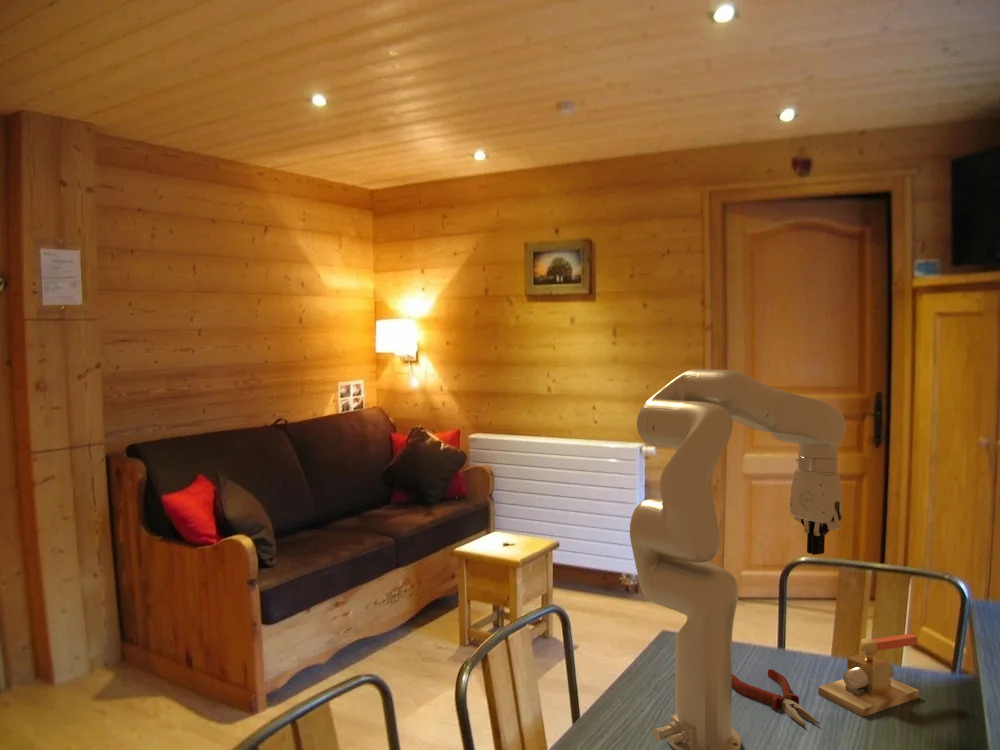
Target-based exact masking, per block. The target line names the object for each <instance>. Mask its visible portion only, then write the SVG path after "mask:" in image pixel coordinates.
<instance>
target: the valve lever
mask: <svg viewBox="0 0 1000 750" xmlns="http://www.w3.org/2000/svg"><path fill="white" fill-rule="evenodd" d="M915 645H918V636H916V635H915V634H912V633H907V634H906V633H905V634H899V635H898V634H897V635H892V636H885V637H879V638H873V639H871V638H861V640H860V651H862V653H865V652H866V653H871V654H873V655H874V654H876V653H877V652H879V651H884V650H885V651H886V650H891V649H895V648H896V649H898V648H904V647H905V648H906V647H908V646H909V647H910V646H915Z"/></svg>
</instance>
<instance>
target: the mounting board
mask: <svg viewBox="0 0 1000 750" xmlns="http://www.w3.org/2000/svg"><path fill="white" fill-rule="evenodd" d="M890 680H891V687H890V692H887V693H884V694H881V695H878V696H875V697H871V696H869V695H866V694H865V695H863V696H860V697H858V696H856V695H854V694H852V693H850V692H848V691H846V684H845V682H844V680H843V678H842V679H839V680H836V681H832V682H829V683H825V684H822V685H820V686H818V689H817V690H818V695H819V696H822V697H823V698H826V699H827V700H829V701H831V702H833V703H835V704H837V705H839V706H841V707H843V708H845V709H846V710H848V711H851V712H852V713H854V714H856V715H858V716H861V717H862V718H863V717H867V716H870V715H872V714H876V713H878V712H881V711H884V710H886V709H890V708H893V707H895V706H899V705H901V704H905V703H908V702H910V701H914V700H917V699H919V698H920V697H919V695H920V690H919V689H917V688H914V687H912V686H911V685H908V684H906V683H904V682H901V681H899V680H896V679H894V678H893V677H892V678H890Z"/></svg>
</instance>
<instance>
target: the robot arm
mask: <svg viewBox="0 0 1000 750" xmlns="http://www.w3.org/2000/svg"><path fill="white" fill-rule="evenodd" d="M733 422H735V423H737V424H740V425H742V426H745V427H747V428H750V429H753V430H756V431H759V432H764V433H769V434H771V436H772V437H773V438H775V439H776V440H777V441H780V442H782V443H791V444H798V450H797V451H798V453H797V455H798V456H797V457H796V459H795V461H796V463H798V464H797V466H798V467H797V469H795V470H794V473H793V477H792V481H791V487H790V488H791V489H790V497H789V498H790V499H789V513H790V514H791V515H792V516H793V517H794V520H795V521H797V522H799V523H800V524H801V525H802V526H803V528H804V533H805V534H806V535H807V537H806V540H807V541H806V552H807V554H811V555H813V556H817V555H822V554H824V553H825V536H827V535H828V534H829V532H830V531H837V530H840V529H841V528H840V527H841V526H840V522H841V521H842V519H843V511H844V510H843V503H844V502H843V489H842V481H841V477H840V474H839V473H838V463H839V462H838V461H839V459H838V457H839V455H838V453H839V444H840V443H841V442H842V441H843V439H844V438H845V435H846V432H847V422H846V420H845V417H844V415H843V414H842V413H841V411H840V410H839V409H838V408H836V407H835V406H833V405H831V404H829V403H827V402H825V401H822V400H819V399H816V398H811V397H808V396H804V395H800V394H797V393H793V392H790V391H786V390H783V389H778V388H775V387H772V386H770V385H767V384H765V383H763V382H762V381H759V380H757V379H754V378H753V377H750V376H748V375H746V374H744V373H743V372H739V371H736V370H733V369H731V370H730V369H728V370H727V369H704V368H696V369H694V368H693V369H689V370H687V371H684V372H683V373H680V374H679V375H678V376H676V377H675V378H674V379H672V380H671V381H669V382H668V383H667V384H666V385H664V386H663V387H662V388H661V389H659V390H658V391H656V393H654V394H653V395H652V396H651V397H649V398H648V400H647V401H645V402H644V403H643V405H642V406H641V408H640V410H639V413H637V418H636V430H637V433H638V435H639V436H640V438H641V439H642V441H644V443H646V444H648V445H650V446H653V447H656V448H657V447H658V448H664V449H673V450H676V451H675V453H674V454H673V456H671V459H669V461H668V462H667V463H666V465H665V467H664V468H663V470H662V472H661V475H660V479H659V491H660V498H648V499H645V500H643V501H641V502H640V503H639V504H638V505H637V506H636V507H635V508H634V510H633V513H632V515H631V518H630V523H629V538H630V543H631V544H630V545H631V549H632V553H633V558H634V562H635V569H636V573H637V578H638V583H639V586H640V589H641V592H642V593H643V595H644V597H645V598H646V599H647V600H648V601H649V602H651V603H653V604H655V605H658V606H661V607H663V608H666V609H669V610H673V611H676V612H678V613H680V614H683V615H685V616H686V622H685V623H684V624H683V626H682V627H681V628H680V629H679V630H678V633H677V634H676V638H675V643H674V644H675V645H674V647H675V651H674V652H675V657H674V658H675V659H674V661H675V668H674V669H675V670H674V671H675V675H674V676H675V677H674V678H675V680H674V683H675V684H674V686H675V689H674V690H675V691H674V694H675V695H674V696H675V699H674V700H675V713H674V714H671V715H670V722H668V723H667V724H666V725H665V726H660V727H657V728H654V729H653V730H652V736H653V738H654V740H655V741H657V742H659V741H662V740H667V742H668V744H669V745H670V747H672V748H673V749H674V750H741V748H742V747H741V746H742V738H741V736H740V734H739V733H738V732H737V731H736V730H735V729H734V728H733V727H732V721H733V719H732V715H733V714H732V712H733V711H732V710H733V709H732V706H733V705H732V701H733V700H732V699H733V697H732V694H733V693H732V691H733V688H732V674H733V673H732V672H733V669H732V668H733V664H732V663H733V657H732V656H733V629H734V621H735V616H736V610H737V605H738V600H739V584H738V582H737V580H736V578H735V577H734V575H733V574H732V573H731V572H730V571H729V570H727V569H725V568H723V567H721V566H719V565H716V564H714V563H711V562H710V561H712V560H713V559H714V558H715V557H716V556H717V555H718V552H719V550H720V544H721V542H720V541H721V540H720V531H719V525H718V519H717V513H716V512H717V511H716V507H715V501H714V495H713V486H712V485H713V484H712V480H713V475H714V471H715V468H716V465H717V464H718V462H719V459H720V458H721V456H722V454H723V452H724V450H725V449H726V447H727V445H728V443H729V441H730V439H731V436H732V432H733Z"/></svg>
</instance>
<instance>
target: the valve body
mask: <svg viewBox="0 0 1000 750" xmlns="http://www.w3.org/2000/svg"><path fill="white" fill-rule="evenodd" d="M894 672H895V670H894V668H893V666H892V664H891V663H890V662H889V661H887V660H885V659H881V658H879V657H876V656H874V653H873V654H871V653H866V652H862V653H859V654H854V655H852V656H849V657H847V668H846V670H844V671H843V673H842V679H843V680H844V682H845V684H846V691H848V692H850V693H852V694H854V695H856V696H858V697H860V696H863V695H865V694H866V695H869V696H871V697H875V696H878V695H881V694H884V693H887V692H890V687H891V680H890V678H892V679H893V677H894Z"/></svg>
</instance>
